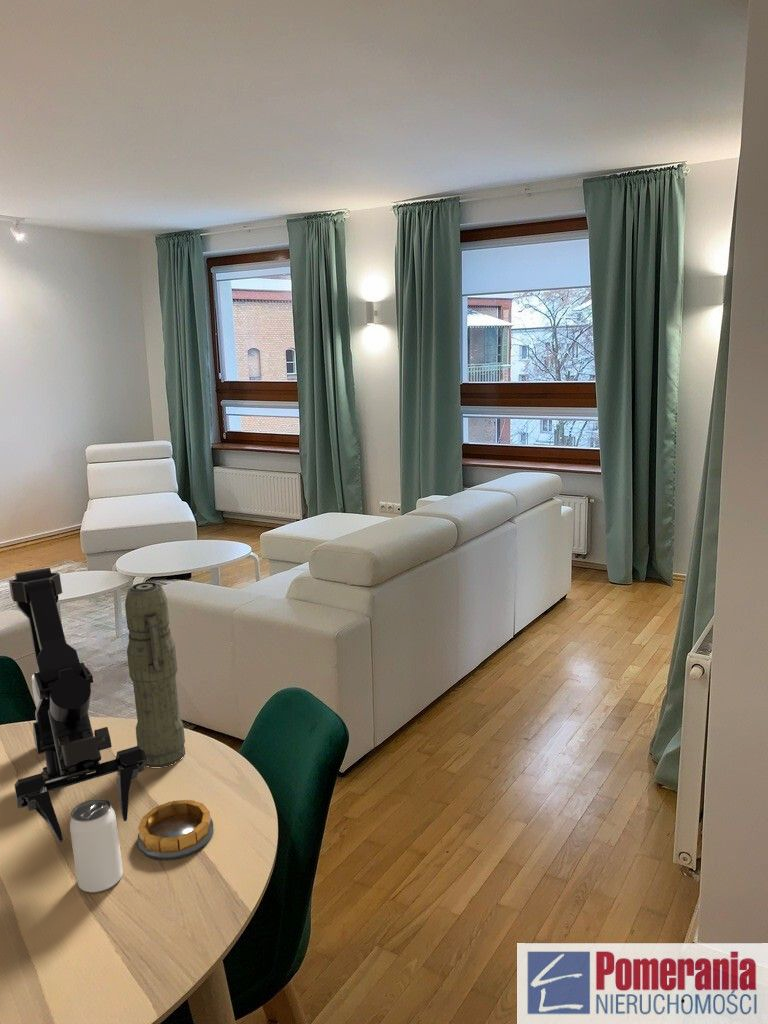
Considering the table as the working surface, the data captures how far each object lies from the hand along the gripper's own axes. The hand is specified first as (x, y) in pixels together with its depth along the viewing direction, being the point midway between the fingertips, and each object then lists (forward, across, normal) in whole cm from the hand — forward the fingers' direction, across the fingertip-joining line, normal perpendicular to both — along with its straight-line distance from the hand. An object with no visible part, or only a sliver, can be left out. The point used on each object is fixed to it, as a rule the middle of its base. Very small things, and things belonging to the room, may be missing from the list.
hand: (94, 830), depth 116 cm
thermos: (-16, +17, +27) cm, 36 cm away
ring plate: (+3, +13, +8) cm, 16 cm away
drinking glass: (-28, +1, +40) cm, 49 cm away
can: (+6, 0, +6) cm, 8 cm away
